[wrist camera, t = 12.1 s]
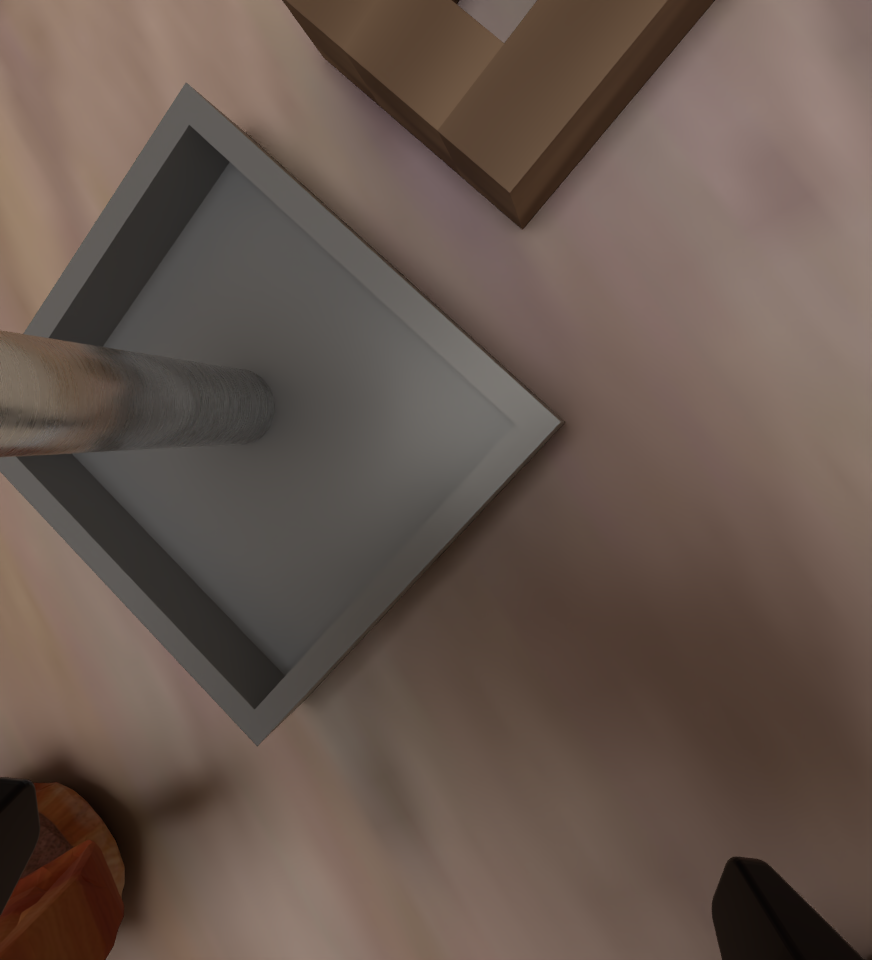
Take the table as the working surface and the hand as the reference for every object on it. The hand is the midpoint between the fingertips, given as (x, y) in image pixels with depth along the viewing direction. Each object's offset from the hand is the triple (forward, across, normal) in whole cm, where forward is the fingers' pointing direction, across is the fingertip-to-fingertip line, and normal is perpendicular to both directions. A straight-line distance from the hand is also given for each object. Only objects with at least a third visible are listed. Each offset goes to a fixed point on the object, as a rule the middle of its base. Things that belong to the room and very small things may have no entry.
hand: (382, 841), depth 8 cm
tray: (+14, +5, -1) cm, 15 cm away
